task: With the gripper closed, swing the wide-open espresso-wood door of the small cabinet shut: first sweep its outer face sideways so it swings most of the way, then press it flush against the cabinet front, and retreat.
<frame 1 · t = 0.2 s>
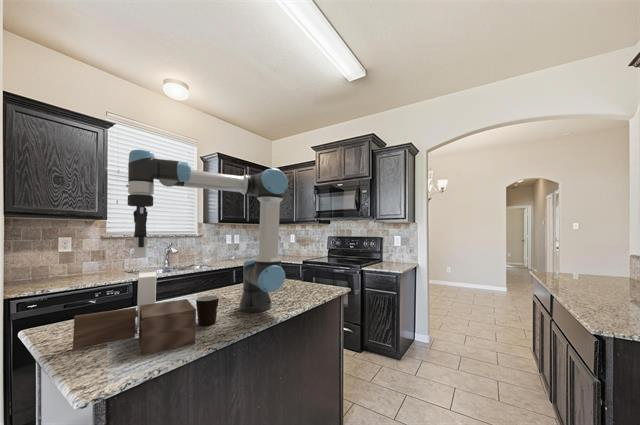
hand: (139, 256, 94), 28 cm above the countertop, fingers open, 13 cm apart
milk: (145, 323, 109), on the countertop
cabinet: (166, 340, 92), on the countertop
coffee mug: (209, 322, 110), on the countertop
door: (107, 326, 90), point 5 cm above the countertop, hinge at 90.0°
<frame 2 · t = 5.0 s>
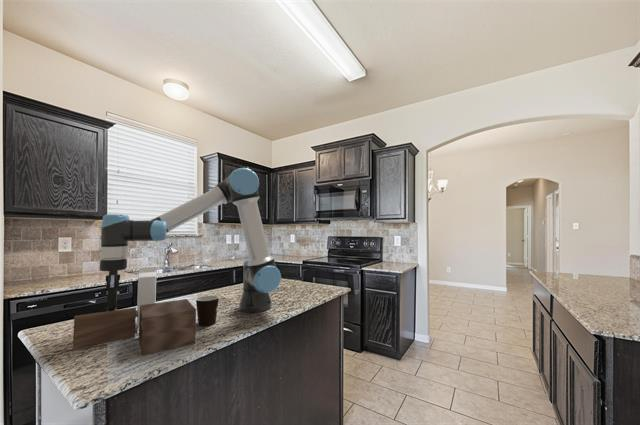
hand: (110, 327, 93), 4 cm above the countertop, fingers closed
door: (107, 326, 90), point 5 cm above the countertop, hinge at 89.6°, touching gripper
everything else where it was.
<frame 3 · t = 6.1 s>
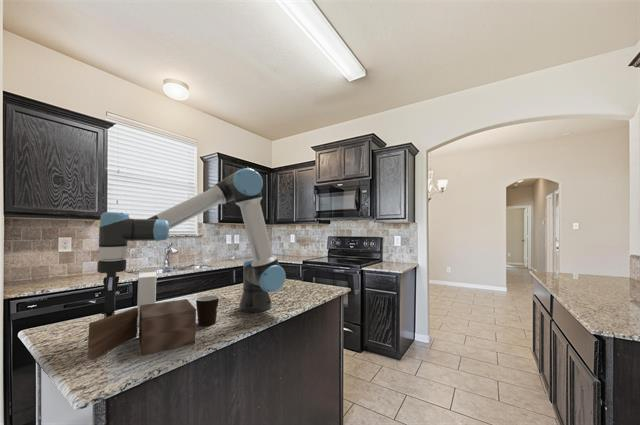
hand: (108, 332, 88), 4 cm above the countertop, fingers closed
door: (114, 330, 87), point 5 cm above the countertop, hinge at 44.4°, touching gripper
everything else where it was.
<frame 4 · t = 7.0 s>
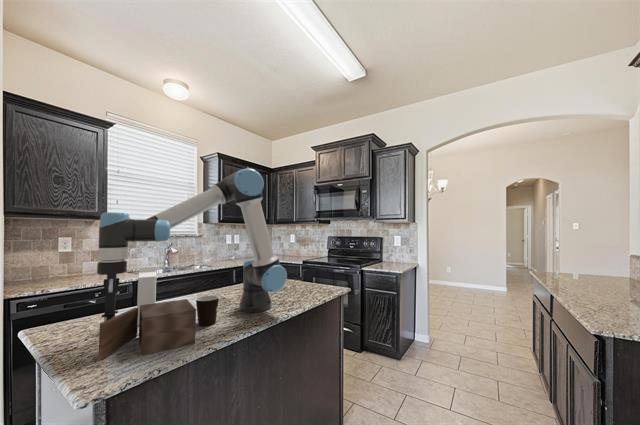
hand: (108, 336, 85), 4 cm above the countertop, fingers closed
door: (118, 330, 87), point 5 cm above the countertop, hinge at 32.7°, touching gripper
everything else where it was.
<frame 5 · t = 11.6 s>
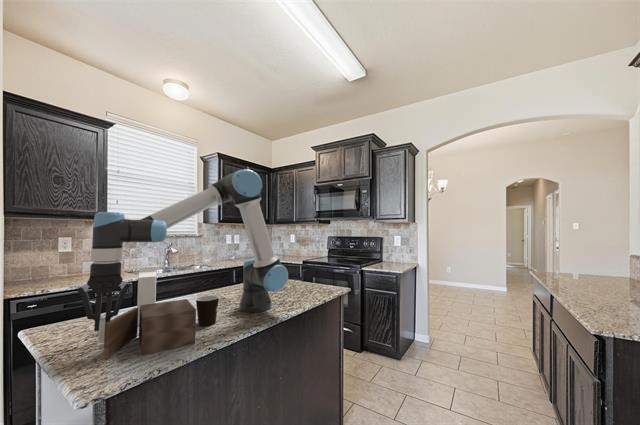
hand: (101, 341, 82), 4 cm above the countertop, fingers closed
door: (121, 330, 87), point 5 cm above the countertop, hinge at 27.6°, touching gripper
everything else where it was.
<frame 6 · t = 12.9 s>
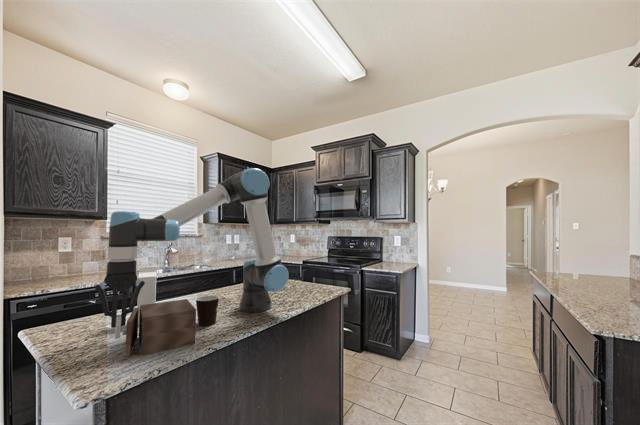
hand: (117, 337, 84), 4 cm above the countertop, fingers closed
door: (130, 329, 87), point 5 cm above the countertop, hinge at 8.2°, touching gripper
everything else where it was.
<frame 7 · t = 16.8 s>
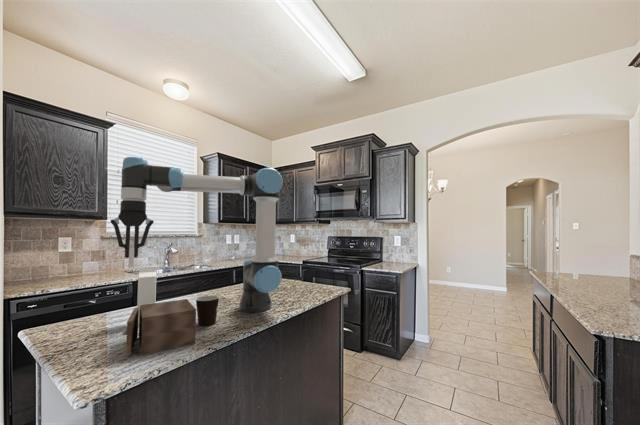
hand: (130, 266, 96), 24 cm above the countertop, fingers closed
door: (130, 329, 87), point 5 cm above the countertop, hinge at 7.8°
everything else where it was.
at the end: door at +8° (first picture: +90°) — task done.
